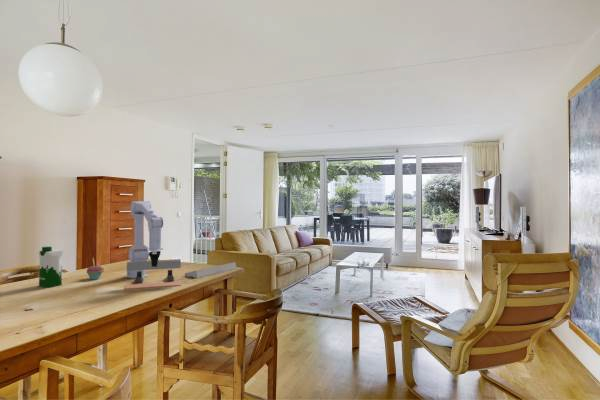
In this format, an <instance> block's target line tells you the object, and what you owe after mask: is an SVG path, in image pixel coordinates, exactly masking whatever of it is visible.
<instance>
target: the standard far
mask: <svg viewBox="0 0 600 400" xmlns="http://www.w3.org/2000/svg"><path fill="white" fill-rule="evenodd" d="M174 281H175V277H174V275H173V269H167V276H166V277H165V282H174Z"/></svg>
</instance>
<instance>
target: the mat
mask: <svg viewBox="0 0 600 400" xmlns="http://www.w3.org/2000/svg"><path fill="white" fill-rule="evenodd" d="M179 286H182V281H181V280H179V281H178V280H176V281H175V280H174V282H166V281H161V282H160V281H159V282H145V283H144V282H143V283H141V284H134V283H126V285H125V287H124V290H133V289H150V288H165V287H166V288H167V287H179Z"/></svg>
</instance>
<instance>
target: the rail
mask: <svg viewBox="0 0 600 400" xmlns="http://www.w3.org/2000/svg"><path fill="white" fill-rule="evenodd" d="M181 263H182V262H181V259H179V258H178V259H161V260H159V259H158V263H157V267H152V263H151V260H147V261H132V262H130V261H127V262H126V272H127V271H134V270H145V271H148V270H150V271H152V270H173V269H181V266H182V264H181Z"/></svg>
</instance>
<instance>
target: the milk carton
mask: <svg viewBox="0 0 600 400" xmlns="http://www.w3.org/2000/svg"><path fill="white" fill-rule="evenodd" d="M63 254H64V250H61V249H55V248H54V249H53V248H52V246H41V250H38V257H39V273H38V274H39V278H38V280H39V281H38V286H39V287H42V288H45V289H47V288H53V287H58V286H62V285H63V284H62V282H63V281H62V278H63V276H62V273H63V271H62V268H63Z"/></svg>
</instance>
